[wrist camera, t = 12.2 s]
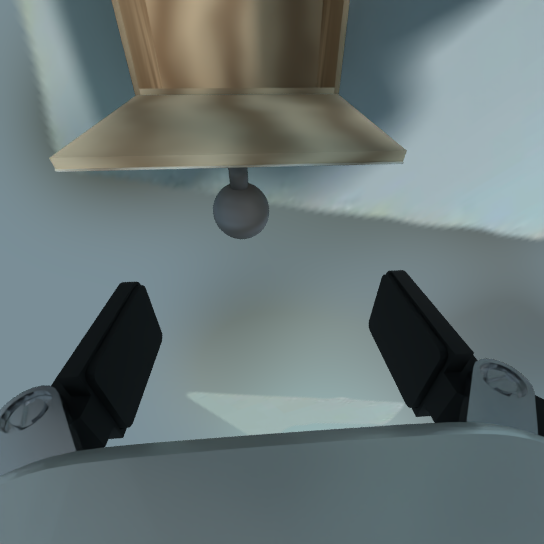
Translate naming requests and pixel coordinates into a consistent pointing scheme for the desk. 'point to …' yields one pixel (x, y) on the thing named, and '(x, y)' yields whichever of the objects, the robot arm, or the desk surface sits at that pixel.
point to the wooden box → (233, 45)
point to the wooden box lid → (231, 143)
